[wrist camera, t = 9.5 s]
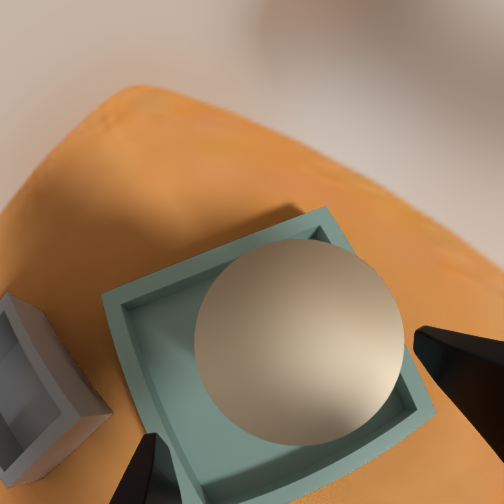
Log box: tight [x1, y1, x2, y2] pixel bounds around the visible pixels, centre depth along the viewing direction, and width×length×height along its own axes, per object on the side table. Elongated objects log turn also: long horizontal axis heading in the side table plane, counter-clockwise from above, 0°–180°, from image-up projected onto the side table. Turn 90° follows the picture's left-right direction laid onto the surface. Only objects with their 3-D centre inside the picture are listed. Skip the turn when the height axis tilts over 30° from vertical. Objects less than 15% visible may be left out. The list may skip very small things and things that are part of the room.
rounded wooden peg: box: [194, 239, 404, 446], centre depth 10 cm, size 4×4×11 cm
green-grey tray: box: [101, 206, 437, 504], centre depth 15 cm, size 14×14×2 cm
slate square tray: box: [0, 292, 114, 489], centre depth 13 cm, size 9×9×4 cm
